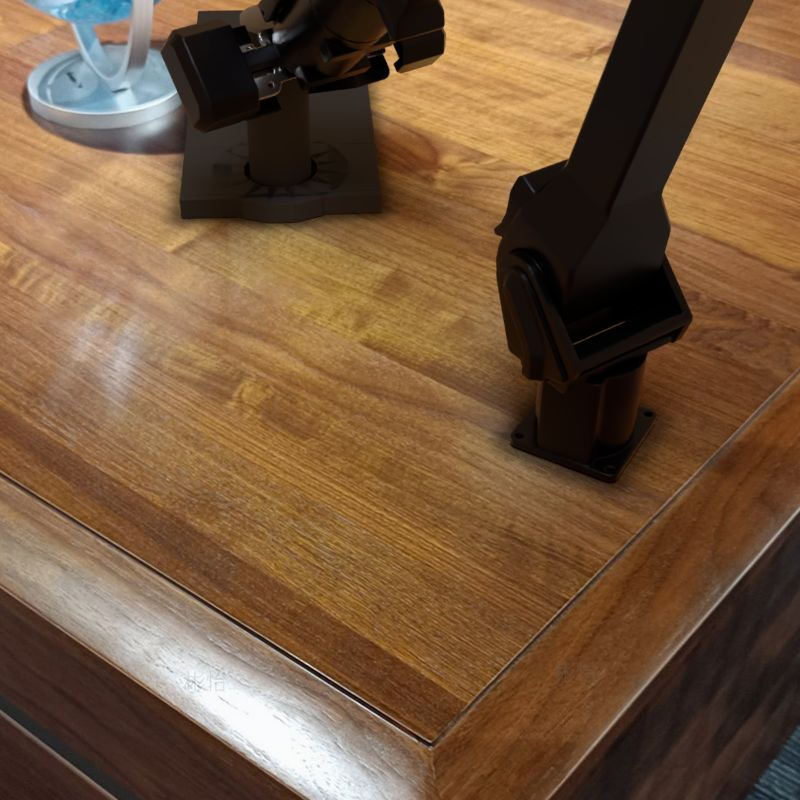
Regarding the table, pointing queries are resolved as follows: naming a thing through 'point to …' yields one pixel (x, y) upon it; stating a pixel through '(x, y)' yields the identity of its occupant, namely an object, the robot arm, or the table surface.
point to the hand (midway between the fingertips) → (267, 96)
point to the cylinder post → (278, 127)
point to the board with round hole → (323, 194)
